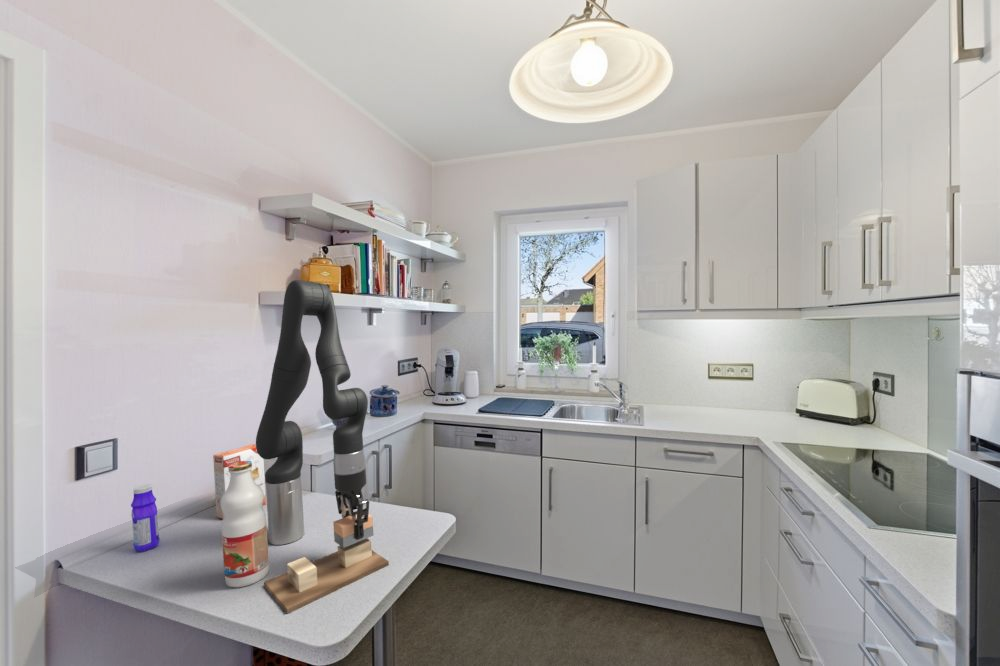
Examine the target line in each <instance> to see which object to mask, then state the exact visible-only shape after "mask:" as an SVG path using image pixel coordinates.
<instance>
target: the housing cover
mask: <svg viewBox="0 0 1000 666" xmlns="http://www.w3.org/2000/svg"><path fill="white" fill-rule="evenodd" d="M356 519H357V515H356ZM373 519H374V518H373V515H372V514H368V522H365V523H363V529H366V528H369V527H371V526H373V527H374V520H373ZM332 525H333V526H332V527H333V533H334V532H335V533H337V534H338V535H340V536H341V537H342V538H344V537H346V536H349V535H351V534H354V524H353V519H352V516H348V517H345V518H342V517H341V518H339V519H337V520H334V521H333V524H332Z"/></svg>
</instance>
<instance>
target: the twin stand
mask: <svg viewBox="0 0 1000 666" xmlns="http://www.w3.org/2000/svg"><path fill="white" fill-rule="evenodd" d="M372 549H373V548H372V540H370V539H369V538H366V539H364V540H361V541H359V542H357V543H354V544H352V545H350V546H347V547H345V548H343V547H341V546H340V545H338V546H337V551H335V552H332V553H330V554H327V555H325V556H322V557H320V558H318V559H316V560H314V561H310V560H309V559H308V558H307V557H306V556H303V557H301V558H298V559H296V560H293V561H290V562H288V563H287V564H286V566H287V567H286V568H287V572H284V573H282V574H280V575H277V576H275V577H272V578H270V579H268V580H265V581H264V583H263V585H264V587H265V588H266V590H267V591H268V592H269V594H270V595H271V596H272V597H273V598H274V600H276V602H277V603H278V604H279V605H280V606H281V608H282V609H283V610H284V611H285V612H286V614H290V613H292V612H294V611H296V610H298V609H301V608H303V607H304V606H306V605H307V606H308V605H309V604H312V603H313V602H315V601H317V600H319V599H321V598H323V597H326V596H327V595H328V596H329V594H332V593H334V592H336V591H337V590H339V589H342V588H344V587H347V586H349V585H350V584H353V583H354V582H356V581H358V580H361V579H363V578H365V577H367V576H369V575H371V574H373V573H376V572H377V571H379V570H382V569H383V568H386V567H387V566H389V563H390V562H389V560H388V559H386V558H384V557H383V556H382V555H380V554H378V552H375V551H374V550H372Z"/></svg>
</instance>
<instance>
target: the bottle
mask: <svg viewBox="0 0 1000 666" xmlns="http://www.w3.org/2000/svg"><path fill="white" fill-rule="evenodd" d="M156 501H157V498H156V497H155V495H154V493H153V485H152V484H142V485H139V486H136V487H134V488H133V499H132V501H131V503H130V507H131V508H132V509H131V514H130V515H131V516H130V517H131V519H132V535H133V544H132V545H133V549H134V550H135V551H137V552H139V553H141V552H145V551H148V550H152V549H155V548H156V547H158V545H159V544H160V533H159V521H158V507H157V505H156Z"/></svg>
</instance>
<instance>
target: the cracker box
mask: <svg viewBox="0 0 1000 666" xmlns="http://www.w3.org/2000/svg"><path fill="white" fill-rule="evenodd" d="M212 458H213V459H212V460H213V476H214V492H215V493H214V494H215V496H214V497H215V511H216V512H215V513H216V518H218V519H222V520H223V517H224V515H223V512H222V510H221V498H222V496H223V495H224V493H225V492H226V490H227V488H228V486H229V482H230V476H231V475H230V473H229V470H228V468H229V465H230V464H232V463H235V462H240V461H251V462H252V469H251V474H252V477H253V480H254V482H255V483H256V484H257V485H258V486H259V487H260V488H261V489H262V491H263V494H264V500H263V505H267V498H266V484H265V459H263V458H261V457H260V456H259V454H258V452H257V449H256V443H252V444H249V445H245V446H242V447H237V448H235V449H231V450H227V451H223V452H220V453H215V454H213V456H212ZM263 505H262V506H263Z"/></svg>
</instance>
